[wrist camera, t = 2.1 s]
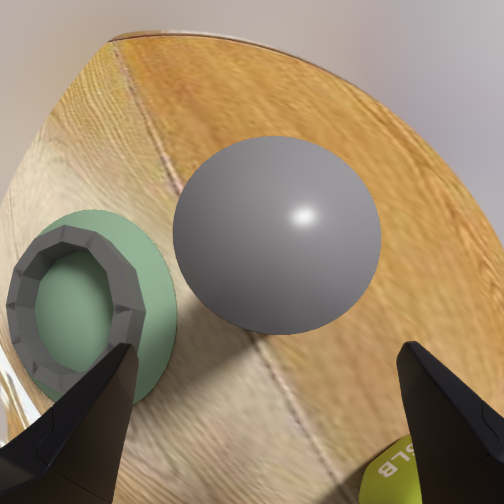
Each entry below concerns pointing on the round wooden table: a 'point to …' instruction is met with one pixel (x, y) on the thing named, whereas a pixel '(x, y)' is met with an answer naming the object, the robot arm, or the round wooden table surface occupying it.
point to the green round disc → (91, 301)
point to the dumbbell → (392, 477)
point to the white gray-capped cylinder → (276, 235)
